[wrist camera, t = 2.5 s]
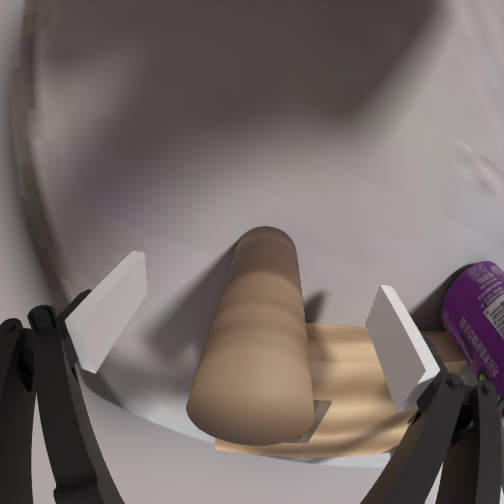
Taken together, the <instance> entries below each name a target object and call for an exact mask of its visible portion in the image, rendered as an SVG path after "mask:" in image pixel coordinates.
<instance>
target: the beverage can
mask: <svg viewBox="0 0 504 504" xmlns="http://www.w3.org/2000/svg"><path fill="white" fill-rule="evenodd" d="M441 320H442V324H443V326H444V327H445V329H446V330H447V332H448V333H449V335H450V337H451V338H452V340H453V341H454V343H455V345H456V346H457V348H458V349H459V351H460V353H461V354H462V356H463V358H464V359H465V361H466V363H467V365H468V366H469V368H470V370H471V372H472V373H473V375H474V377H475V379H476V381H477V383H478V382H479V380H482V379H483V380H487V381H490V382H491V383H492V384H493V385H494V387H495V389H496V392H497V398H498V406H499V415H500V416H502V417H504V271H503V270H502V269H500V268H499V267H498V266H497V265H496V264H495V263H493V262H490V261H483V262H479V263H476V264H474V265H472V266H471V267H469V268H468V269H466V270H465V271H464V272H463V273H462V274H461V275H460V276H459V277H458V278H457V279H456V280H455V282H454V283H453V285H452V286H451V288H450V289H449V291H448V293H447V295H446V297H445V299H444V302H443V305H442V310H441Z"/></svg>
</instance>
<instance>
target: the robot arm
mask: <svg viewBox="0 0 504 504" xmlns="http://www.w3.org/2000/svg"><path fill="white" fill-rule="evenodd" d="M147 295H148V293H147V281H146V266H145V252H138V251H132V252H131V253H130V254H129V255H128V256H127V257H126V258H125V259H123V260H122V261H121V262H120V263H119V264H118V265H117V266H116V267H115V268H114V269H113V270H112V271H111V272H110V273H109V274H108V275H107V276H106V277H105V278H104V279H103V280H102V281H101V282H100V283H99V284H98V285H97V286H96V287H95V289H94V290H90V289H88V290H86V291H84V292H82V293H80V294H79V295H78V296H77V297H76V298H75V299H74V301H72V302H71V303H70V304H69V306H67V307H66V309H65V310H64V311H63V312H62V313H61V314H60V315H59V316H58V317H56V313H55V310H54V308H53V307H51V306H49V305H40V306H37V307H35V308H33V309H32V310H31V311H30V312H29V313H28V316H27V318H28V320H29V323H30V326H31V328H32V329H28V328H23V326H22V323H21V321H20V320H18V319H16V318H12V319H8V320H5V321H4V322H3V323H2V324H1V325H0V504H33V495H32V479H31V478H32V476H31V448H32V429H33V417H34V406H35V399H36V392H37V400H38V407H39V414H40V420H41V425H42V431H43V435H44V440H45V445H46V449H47V453H48V457H49V461H50V465H51V468H52V472H53V475H54V478H55V482H56V489H55V490H54V499H55V502H56V504H125V503H124V501H123V500H122V498H121V496H120V495H119V492H118V490H117V488H116V486H115V484H114V482H113V479H112V477H111V475H110V473H109V471H108V468H107V466H106V463H105V461H104V459H103V456H102V453H101V452H100V448H99V446H98V443H97V440H96V437H95V435H94V432H93V429H92V426H91V423H90V420H89V416H88V413H87V410H86V406H85V403H84V399H83V396H82V392H81V388H80V384H79V380H78V375H77V371H76V368H75V366H74V365H75V364H76V362H77V361H78V360H79V363H80V365H81V368H82V369H85V370H87V371H90V372H93V373H95V374H96V372H97V371H98V369H99V367H100V366H101V364H102V362H103V361H104V359H105V358H106V356H107V355H108V353H109V351H110V350H111V348H112V347H113V345H114V344H115V342H116V341H117V339H118V337H119V336H120V334H121V333H122V331H123V330H124V328H125V327H126V325H127V324H128V322H129V321H130V319H131V318H132V316H133V315H134V313H135V312H136V311H137V309H138V308H139V306H140V305H141V303H142V302H143V300H144V299H145V297H146V296H147ZM365 325H366V327H367V330H368V332H369V335H370V338H371V340H372V343H373V346H374V348H375V351H376V354H377V357H378V359H379V362H380V365H381V368H382V371H383V374H384V376H385V379H386V382H387V385H388V388H389V391H390V395H391V398H392V401H393V404H394V407H395V410H396V412H405V411H410V410H411V409H412V407H413V406H414V405H415V404H416V403H417V406H418V410H417V411H416V413H415V414H414V415H413V416H412V417H411V418H410V420H409V421H408V422H407V423H408V424H409V423H410V424H409V426H408V428H407V430H406V432H405V434H404V436H403V438H402V440H401V441H400V443H399V445H398V447H397V449H396V450H395V452H394V454H393V455H392V457H391V459H390V460H389V462H388V464H387V465H386V467H385V469H384V470H383V472H382V473H381V475H380V476H379V478H378V479H377V481H376V482H375V484H374V485H373V487H372V488H371V490H370V491H369V492H368V494H367V495H366V496H365V498H364V499H363V501H362V502H361V503H360V504H424V502H425V500H426V498H427V496H428V494H429V492H430V490H431V488H432V486H433V484H434V481H435V479H436V477H437V475H438V472H439V470H440V468H441V465H442V463H443V468H442V474H441V480H440V485H439V490H438V494H437V499H436V503H435V504H499V501H500V492H501V476H502V442H501V425H500V415H499V406H498V398H497V392H496V389H495V387H494V385H493V384H492V383H491V382H490V381H487V380H483V379H482V380H479V382H478V383H477V384H476V386H475V387H473V386H468V385H465V384H464V382H463V380H462V379H461V378H460V377H459V376H458V375H456V374H453V373H449V372H448V370H447V368H446V366H445V364H444V363H443V361H442V359H441V357H440V355H439V354H438V352H437V350H436V349H435V346H434V345H433V343H432V341H431V340H430V339H429V338H428V337H427V336H426V335H425V334H420V332H419V330H418V328H417V327H416V325H415V323H414V322H413V320H412V318H411V317H410V315H409V313H408V312H407V310H406V308H405V307H404V305H403V303H402V302H401V300H400V299H399V297H398V295H397V294H396V292H395V291H394V289H393V288H392V286H386V285H380V287H379V290H378V292H377V295H376V298H375V300H374V303H373V306H372V308H371V311H370V313H369V316H368V318H367V321H366V323H365ZM443 460H444V461H443Z"/></svg>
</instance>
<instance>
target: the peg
mask: <svg viewBox="0 0 504 504" xmlns="http://www.w3.org/2000/svg"><path fill="white" fill-rule="evenodd" d="M186 410H187V414H188V416H189V418H190V420H191V421H192V422H193V423H194V424H195V425H196V426H197V427H198V428H199V429H201V430H202V431H204V432H205V433H207V434H209V435H210V436H213V437H215V438H217V439H220V440H223V441H226V442H230V443H234V444H240V445H248V446H267V445H275V444H280V443H284V442H288V441H291V440H293V439H295V438H298V437H299V436H301V435H303V434H304V433H305V432H307V431H308V430H309V429H310V427H311V426H312V424H313V422H314V404H313V392H312V380H311V369H310V359H309V349H308V340H307V331H306V322H305V314H304V305H303V297H302V290H301V282H300V275H299V267H298V260H297V253H296V248H295V245H294V243H293V241H292V240H291V238H290V237H289V236H288V235H287V234H286V233H284V232H283V231H281V230H279V229H277V228H274V227H267V226H264V227H257V228H254V229H251V230H249V231H248V232H246V233H245V234H244V235H243V236H242V237H241V238H240V240H239V241H238V243H237V246H236V249H235V252H234V255H233V258H232V261H231V264H230V267H229V270H228V274H227V277H226V280H225V283H224V286H223V289H222V292H221V295H220V298H219V302H218V305H217V308H216V311H215V314H214V317H213V320H212V324H211V327H210V330H209V333H208V336H207V340H206V343H205V346H204V349H203V353H202V356H201V359H200V362H199V366H198V369H197V372H196V375H195V379H194V382H193V385H192V389H191V392H190V395H189V398H188V402H187V405H186Z"/></svg>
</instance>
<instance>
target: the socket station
mask: <svg viewBox="0 0 504 504" xmlns="http://www.w3.org/2000/svg"><path fill="white" fill-rule="evenodd" d="M306 331H307V340H308V349H309V359H310V369H311V380H312V392H313V404H314V422H313V424H312V426H311V427H310V429H309V430H308V431H307V432H305V433H304V434H303V435H301V436H299V437H298V438H295V439H293V440H291V441H288V442H284V443H280V444H275V445H267V446H248V445H240V444H234V443H230V442H226V441H223V440H220V439H217V438H216V440H215V449H216V450H222V451H229V452H236V453H245V454H252V455H263V456H276V457H298V458H328V457H350V456H363V455H373V454H381V453H389V452H390V457H392V455H393V454H394V452H395V450H396V449H397V447H398V445H399V443H400V441H401V440H402V438H403V436H404V434H405V432H406V430H407V428H408V426H409V424H410V423H409V424H408V423H407V422H408V421H409V420H410V418H411V417H412V416H413V415H414V414H415V413H416V411H417V410H418V406H417V403H416V404H415V405H414V406H413V407H412V409H411V410H410V411H405V412H396V410H395V407H394V404H393V401H392V398H391V395H390V391H389V388H388V385H387V382H386V379H385V376H384V374H383V371H382V368H381V365H380V362H379V359H378V357H377V354H376V351H375V348H374V346H373V343H372V340H371V338H370V335H369V332H368V330H367V328H364V327H350V326H339V325H328V324H317V323H308V322H306ZM419 332H420V334H425V335H426V336H427V337H428V338H429V339H430V340H431V341H432V343H433V345H434V346H435V349H436V350H437V352H438V354H439V355H440V357H441V359H442V361H443V363H444V364H445V366H446V368H447V370H448V372H449V373H453V374H456V375H458V376H459V377H460V378H461V379H462V380H463V382H464V384H465V385H468V386H473V387H475V386H476V384H477V381H476V379H475V377H474V375H473V373H472V372H471V370H470V368H469V366H468V365H467V363H466V361H465V359H464V358H463V356H462V354H461V353H460V351H459V349H458V348H457V346H456V345H455V343H454V341H453V340H452V338H451V337H450V335H449V333H448V332H447V331H420V330H419ZM500 425H501V442H502V476H501V486H502V489H503V493H504V417H502V416H500ZM424 504H425V502H424Z"/></svg>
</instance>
